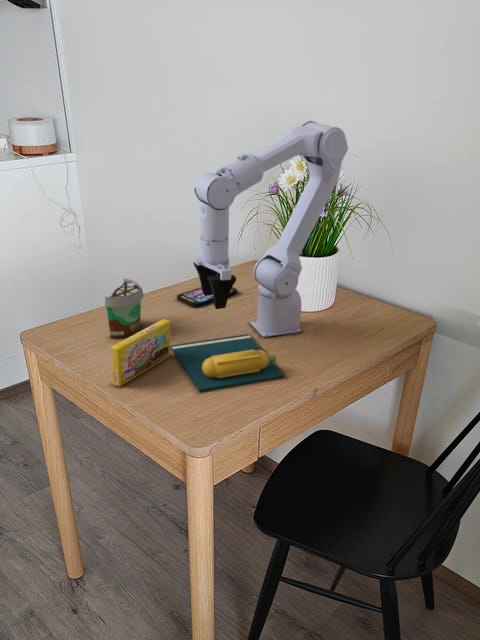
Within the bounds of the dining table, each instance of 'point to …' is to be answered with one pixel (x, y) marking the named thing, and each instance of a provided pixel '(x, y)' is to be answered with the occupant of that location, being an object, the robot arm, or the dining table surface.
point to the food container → (124, 309)
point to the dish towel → (201, 350)
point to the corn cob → (236, 363)
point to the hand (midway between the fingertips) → (214, 301)
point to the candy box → (140, 352)
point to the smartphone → (198, 297)
